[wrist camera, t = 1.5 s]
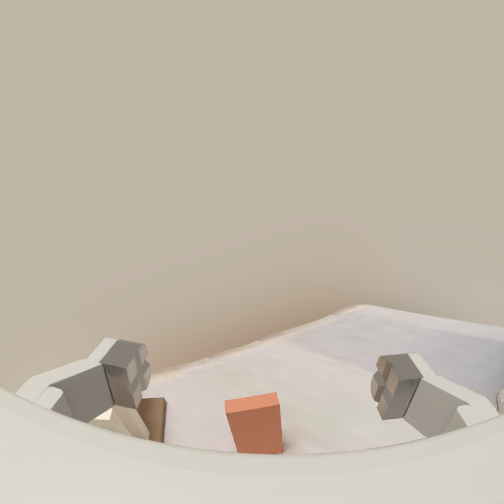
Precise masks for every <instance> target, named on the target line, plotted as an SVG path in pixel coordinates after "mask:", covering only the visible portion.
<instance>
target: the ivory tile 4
mask: <svg viewBox="0 0 504 504" xmlns="http://www.w3.org/2000/svg"><path fill="white" fill-rule="evenodd" d="M88 424H91V425H94V426H97V427H101V428H104V429H107V430H111V431H115V432H118V433H122V434H126V435H130V436H131V434H130V433H129V431H128V430H127V429H126V427H125V426H124V424H123V423H122V421H121V420H120V418H119V417H118V415H117V414H116V412H115V411H114V409H113V408H110V409H109V410H107V411H106V412H104V413H103V414H101V415H99V416H98V417H96V418H95V419H93V420H92V421H90V422H88Z"/></svg>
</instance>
